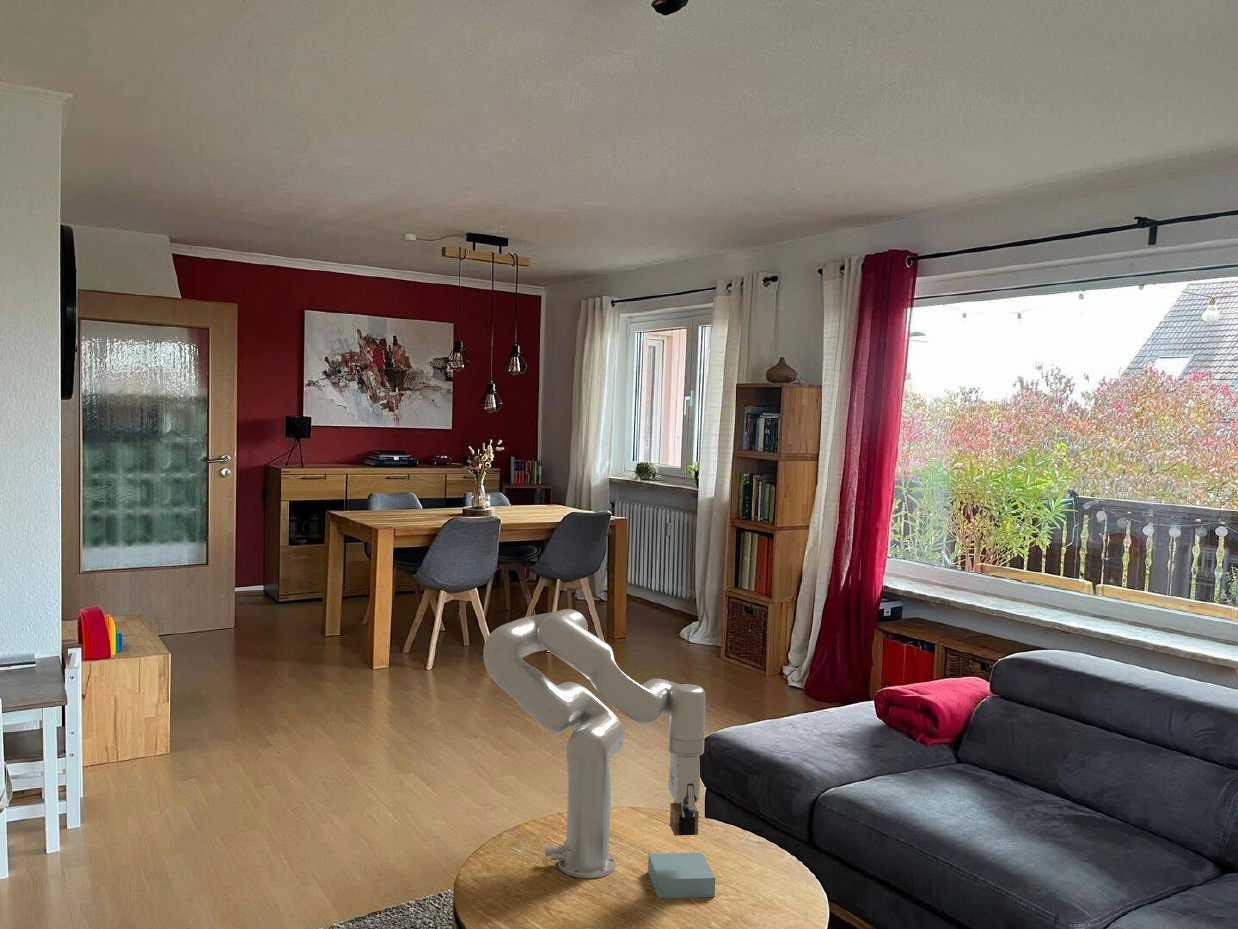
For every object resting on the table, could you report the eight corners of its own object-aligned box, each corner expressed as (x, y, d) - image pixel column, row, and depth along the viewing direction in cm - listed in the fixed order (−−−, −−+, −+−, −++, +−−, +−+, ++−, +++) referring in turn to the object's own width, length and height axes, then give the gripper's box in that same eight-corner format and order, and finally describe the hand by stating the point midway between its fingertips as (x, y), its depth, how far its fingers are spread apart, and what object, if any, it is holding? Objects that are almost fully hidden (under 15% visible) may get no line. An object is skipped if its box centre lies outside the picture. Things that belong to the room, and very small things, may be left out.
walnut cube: (674, 835, 196) (675, 812, 196) (669, 826, 201) (670, 803, 201) (697, 835, 197) (698, 811, 197) (692, 825, 202) (693, 802, 202)
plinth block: (657, 898, 193) (658, 879, 193) (647, 872, 205) (648, 854, 205) (714, 897, 195) (715, 878, 194) (701, 870, 206) (702, 852, 206)
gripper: (661, 732, 207) (659, 814, 207) (677, 758, 190) (674, 847, 190) (694, 731, 208) (692, 813, 208) (713, 757, 191) (710, 845, 191)
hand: (683, 828), depth 199 cm, fingers closed on walnut cube, 5 cm apart
